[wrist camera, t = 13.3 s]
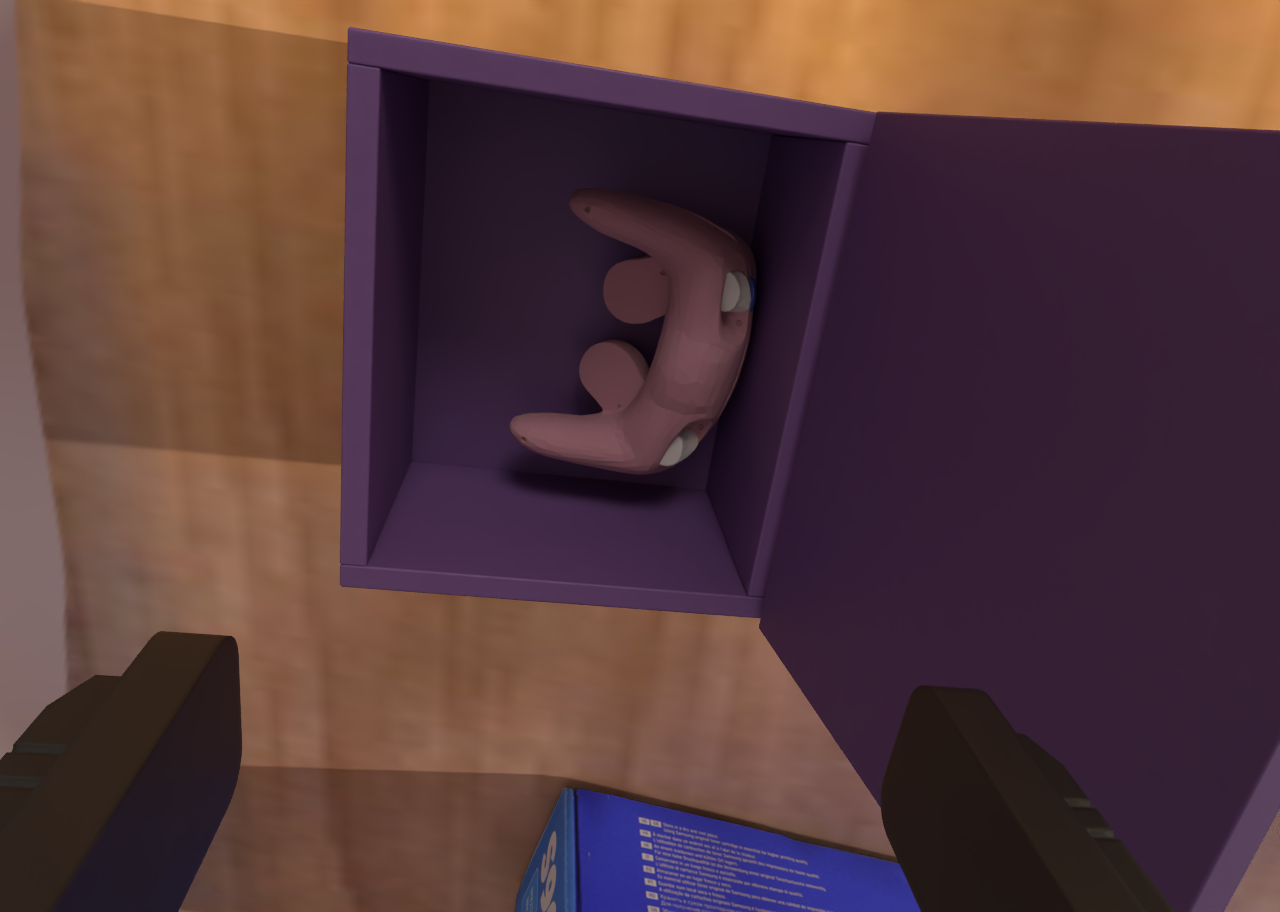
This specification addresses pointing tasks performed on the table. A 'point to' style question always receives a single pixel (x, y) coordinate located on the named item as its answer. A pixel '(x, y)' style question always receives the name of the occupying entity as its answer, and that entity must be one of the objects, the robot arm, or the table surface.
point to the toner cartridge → (693, 865)
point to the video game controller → (688, 345)
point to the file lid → (1056, 469)
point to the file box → (565, 322)
